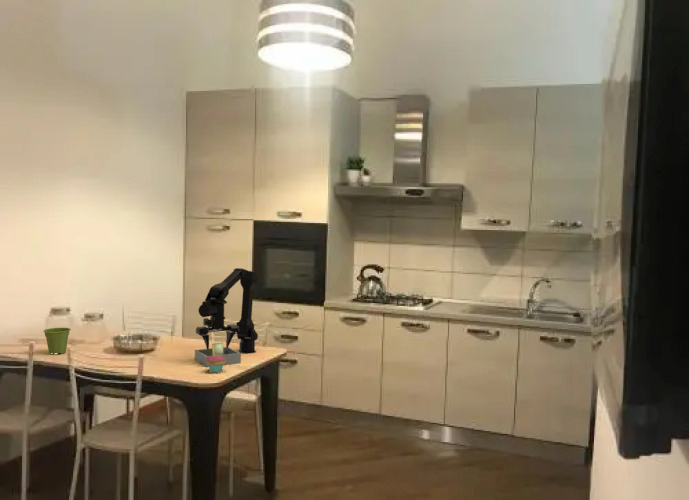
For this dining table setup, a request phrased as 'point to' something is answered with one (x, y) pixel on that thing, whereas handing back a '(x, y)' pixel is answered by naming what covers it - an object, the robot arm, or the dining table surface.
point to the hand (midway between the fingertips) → (217, 348)
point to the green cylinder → (218, 348)
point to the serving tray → (228, 353)
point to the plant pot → (57, 339)
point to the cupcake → (215, 362)
